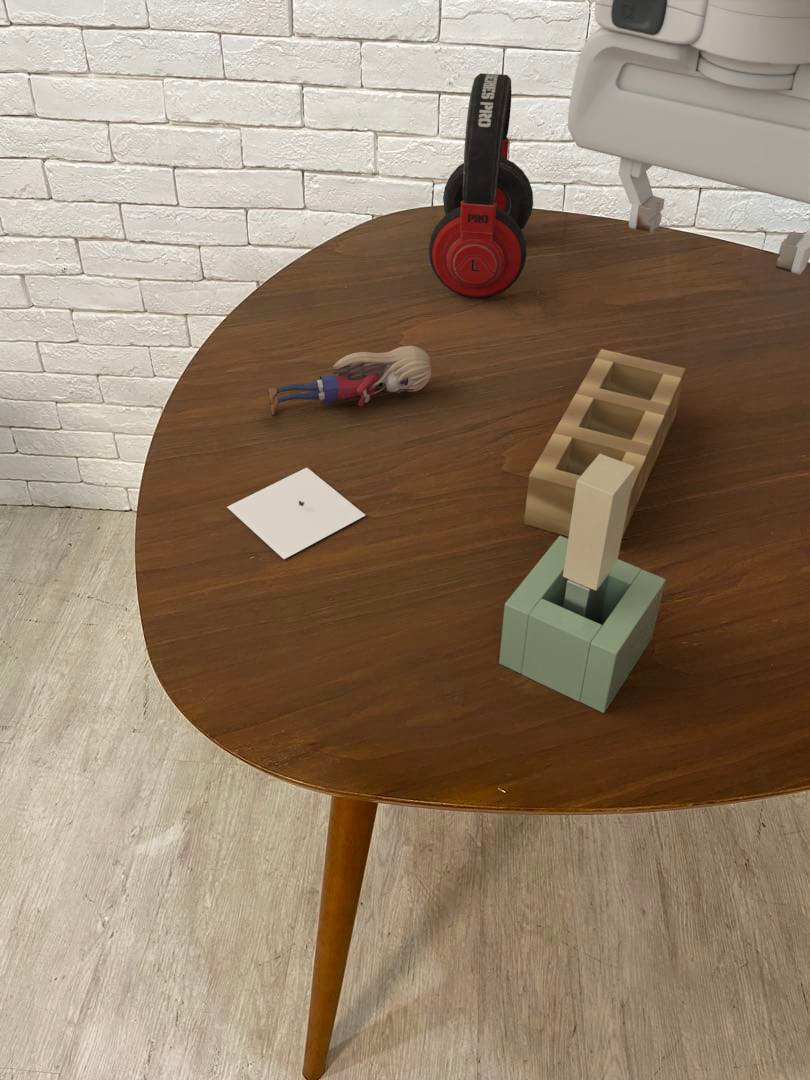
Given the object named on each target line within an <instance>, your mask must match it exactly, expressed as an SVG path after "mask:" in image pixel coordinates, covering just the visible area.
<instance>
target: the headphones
mask: <svg viewBox="0 0 810 1080" xmlns="http://www.w3.org/2000/svg"><path fill="white" fill-rule="evenodd" d="M511 107H512V78H511V77H510V76H509V75H508V74H501V73H500V74H499V73H481V72H480V73H479V74H478V75H476V76H474V79H473V81H472V86H471V91H470V95H469V102H468V109H467V116H466V124H465V125H466V126H465V137H464V151H463V162H462V163H461V164H459V165H458V166H457V167H456V168H455V169H454V171H453V172H452V173H451V174H450V175H449V177H448V180H447V182H446V183H445V186H444V190H443V196H442V201H443V211H444V214H445V215H444V216H443V217H442V218H441V219H440V221H438V223H437V224H436V225H435V228H434V230H433V231H432V234H431V235H430V240H429V244H428V254H429V255H428V256H429V263H430V265H431V268H432V271H433V273H434V275H435V276H436V277H437V279H438V280H439V281H440V283H441V284H443V286H445V287H446V288H447V289H449V290H450V291H451V292H454V293H455V294H458V295H460V296H462V297H466V298H472V299H484V298H486V299H487V298H490V297H494V296H497V295H499V294H502V293H503V292H505V291H507V290H508V289H510V287H511V286H512V285H514V284H515V282H517V280H518V279H519V277H520V275H521V274H522V272H523V270H524V268H525V264H526V259H527V243H526V239H525V236H524V234H523V229H524V228H525V226H526V225H527V223H528V222H529V219H530V218H531V216H532V212H533V208H534V192H533V188H532V185H531V183H530V180H529V178H528V176H527V174H526V173H525V172H524V170H523V169H522V168H520V167H519V166H518V165H517V164H516V163H514V161H511V160H509V159H508V155H509V141H510V139H509V137H508V133H509V127H510V120H511V119H510V118H511V111H512V110H511Z"/></svg>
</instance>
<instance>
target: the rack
mask: <svg viewBox="0 0 810 1080" xmlns="http://www.w3.org/2000/svg"><path fill="white" fill-rule="evenodd" d="M686 371H687V370H686V367H683V366H677V365H673V364H668V363H663V362H660V361H655V360H651V359H647V358H642V357H638V356H633V355H629V354H625V353H620V352H616V351H611V350H608V349H604V348H601V349H600V350H599V352H598V354H597V356H596V357H595V359H594V361H593V363H592V364H591V366H590V367H589V370H588V371H587V373H586V375H585V376H584V379H583V380H582V382H581V384H580V385H579V387H578V389H577V391H576V393H575V394H574V395H573V398H572V399H571V401H570V403H569V405H568V406H567V408H566V410H565V412H564V413H563V415H562V417H561V418H560V421H559V423H558V424H557V426H556V428H555V429H554V431H553V433H552V435H551V436H550V438H549V440H548V442H547V443H546V445H545V447H544V449H543V451H542V452H541V454H540V456H539V457H538V459H537V461H536V463H535V464H534V466H533V468H532V469H531V471H530V473H529V475H528V483H527V492H526V502H525V510H524V518H523V519H524V520H523V522H524V523H523V524H524V525H527V526H530V527H532V528H533V527H534V528H537V529H541V530H544V531H546V532H547V531H548V532H550V533H554V534H557V535H560V536H563V537H567V538H568V537H569V531H570V524H571V517H572V510H573V503H574V496H575V490H576V483H577V480H578V479H579V478H580V476H581V475H582V474H583V473H584V472H585V471H586V469H587V468H588V467H589V466H590V465H591V463H592V462H593V461H594V460H595V459H596V457H597V456H598V455H599V454H602V455H605V456H608V457H610V458H613V459H616V460H619V461H621V462H624V463H627V464H629V465H632V466H635V472H634V477H633V482H632V488H631V493H630V498H629V503H628V508H627V514H626V519H625V524H624V529H623V534H622V539H623V538H624V535H625V532H626V530H627V529H628V525H629V523H630V522H631V520H632V516H633V514H634V512H635V510H636V508H637V505H638V503H639V501H640V498H641V495H642V493H643V491H644V489H645V487H646V484H647V482H648V479H649V477H650V475H651V473H652V470H653V468H654V466H655V464H656V461H657V459H658V457H659V454H660V451H661V449H662V447H663V445H664V443H665V441H666V438H667V436H668V434H669V431H670V429H671V427H672V424H673V423H674V420H675V417H676V415H677V410H678V406H679V402H680V397H681V393H682V388H683V385H684V378H685V374H686ZM622 539H621V541H622Z"/></svg>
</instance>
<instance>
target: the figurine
mask: <svg viewBox="0 0 810 1080" xmlns="http://www.w3.org/2000/svg"><path fill="white" fill-rule="evenodd" d="M331 369H332V371H334V372H333V373H332V375H320V376H319V379H317V380H314V381H311V382H308V383H307V382H306V383H292V384H288V385H283V386H280V387H269V388H267V394H268V397H269V399H268V402H269V406H270V413H271V416H275V414H276V410H277V408H278V406H279V404H280V403H283V402H287V401H293V400H305V401H306V400H308V401H309V400H311V401H312V400H315V401H317V400H319V401H322V402H323V405H327V404H331V403H333V402H336V401H343V400H347V399H351V398H355V397H360V398H359V400H358V402H357V406H359V407H361V408H362V407H364V406H365V405H366V404H368V403H369V401H370V400H371V397H372V396H373V395H374V394H378V393H379V392H382V391H383V390H384V389H385V392H389V393H396V394H401V393H406V392H409V393H411V392H417V391H420V390H421V389H423V388H424V387H425V386H426V385H427V384H428V382H429V380H430V379H431V377H432V368H431V358H430V356H429V355H428V353H427V352H426V351H425V350H424V349H422V348H421V347H418V346H416V345H403V346H399V347H397V348H394V349H392V350H389V351H385V352H369V351H359V352H353V353H350V354H347V355H345V356H343V357H342V358H340V359H339V360H337V361H336V362H335V364H334V365H333V366H332V368H331ZM379 388H380V389H379ZM292 391H304V392H294V393H290V394H286V395H283V396H279V397H277V395H278V394H280V393H284V392H292Z"/></svg>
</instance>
